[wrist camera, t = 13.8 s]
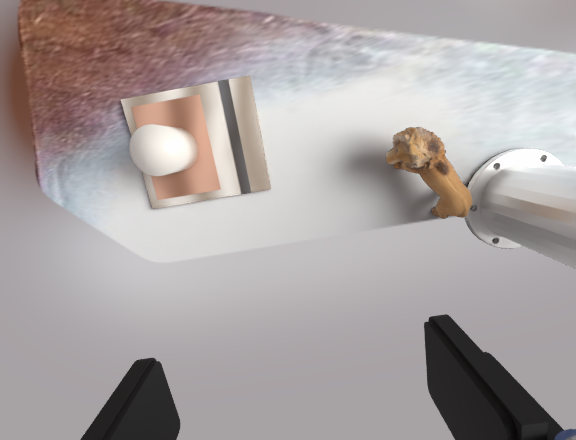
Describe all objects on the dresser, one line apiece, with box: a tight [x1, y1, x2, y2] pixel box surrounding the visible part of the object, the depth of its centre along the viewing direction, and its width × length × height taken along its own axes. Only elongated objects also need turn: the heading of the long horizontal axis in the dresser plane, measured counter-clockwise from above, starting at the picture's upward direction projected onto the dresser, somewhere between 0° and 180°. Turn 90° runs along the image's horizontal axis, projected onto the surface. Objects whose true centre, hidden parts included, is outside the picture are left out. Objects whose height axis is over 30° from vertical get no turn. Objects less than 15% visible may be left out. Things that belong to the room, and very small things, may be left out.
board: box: [121, 76, 271, 209], centre depth 35 cm, size 15×13×1 cm
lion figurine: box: [386, 127, 472, 219], centre depth 32 cm, size 15×5×9 cm, turn 50°
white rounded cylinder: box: [129, 124, 199, 176], centre depth 32 cm, size 5×5×6 cm
